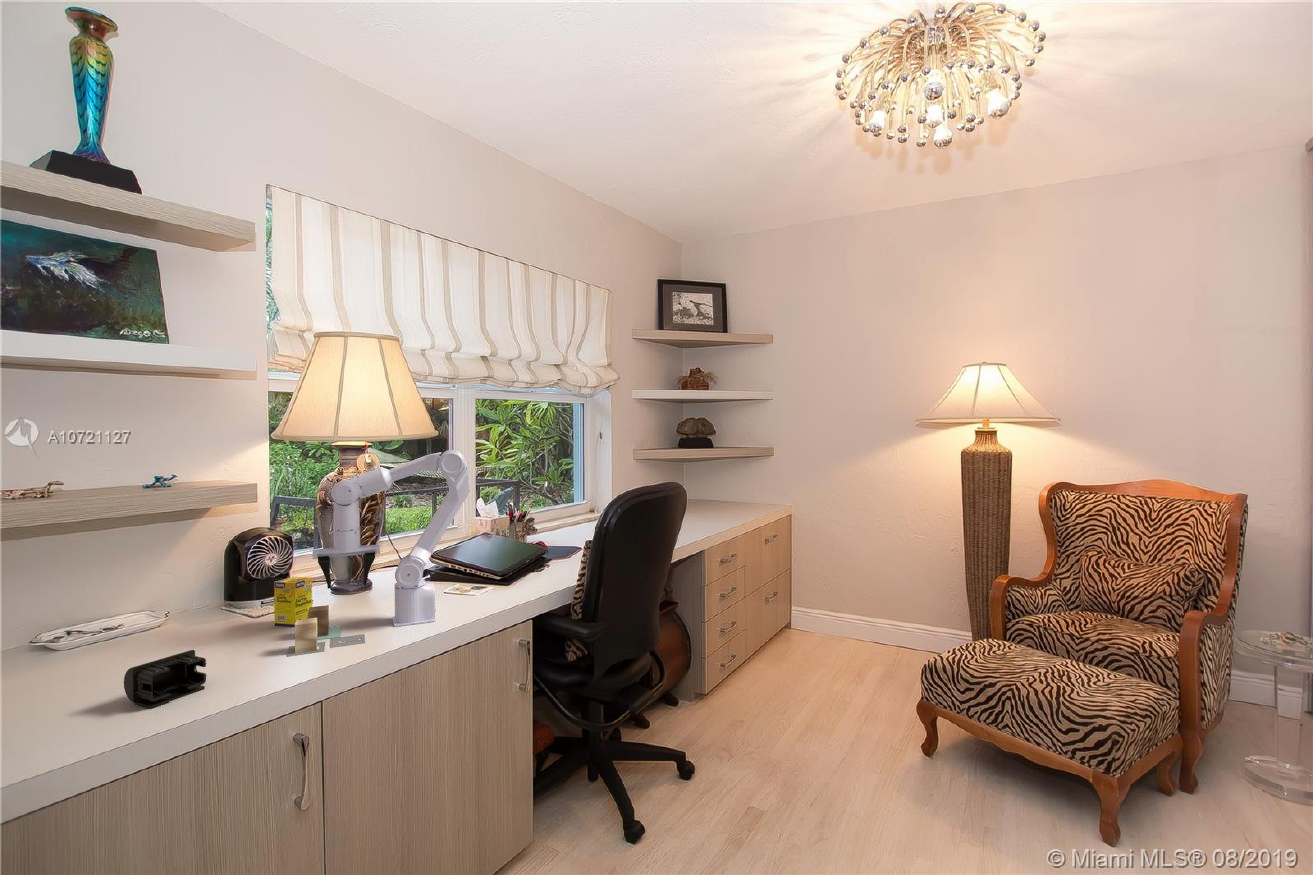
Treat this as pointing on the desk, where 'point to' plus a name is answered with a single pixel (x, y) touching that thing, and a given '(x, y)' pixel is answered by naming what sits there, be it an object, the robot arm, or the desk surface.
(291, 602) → the supplement box
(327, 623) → the walnut block
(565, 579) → the desk surface
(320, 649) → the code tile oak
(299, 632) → the oak block
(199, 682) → the end cap
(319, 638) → the felt pad
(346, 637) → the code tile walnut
